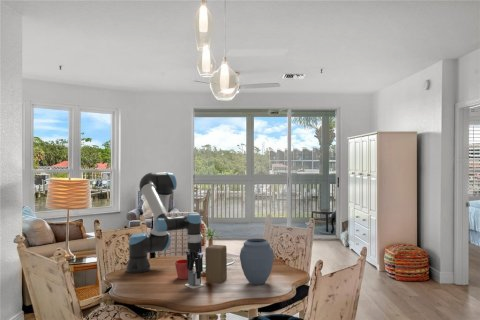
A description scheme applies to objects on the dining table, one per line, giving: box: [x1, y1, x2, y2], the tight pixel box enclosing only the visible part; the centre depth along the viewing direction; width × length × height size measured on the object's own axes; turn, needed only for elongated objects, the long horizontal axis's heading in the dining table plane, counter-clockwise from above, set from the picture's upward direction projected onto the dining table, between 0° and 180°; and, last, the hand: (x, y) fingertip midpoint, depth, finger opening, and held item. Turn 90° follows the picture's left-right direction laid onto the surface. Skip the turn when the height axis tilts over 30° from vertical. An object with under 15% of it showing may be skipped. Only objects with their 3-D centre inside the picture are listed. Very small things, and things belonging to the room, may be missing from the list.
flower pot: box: [174, 258, 189, 280], centre depth 252 cm, size 11×11×10 cm
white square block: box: [184, 282, 206, 289], centre depth 234 cm, size 8×8×7 cm
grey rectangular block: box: [187, 269, 202, 286], centre depth 234 cm, size 5×5×7 cm
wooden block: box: [204, 244, 228, 284], centre depth 244 cm, size 10×10×20 cm
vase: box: [239, 238, 275, 286], centre depth 237 cm, size 20×20×24 cm
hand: (194, 283), depth 234 cm, fingers closed on grey rectangular block, 5 cm apart
